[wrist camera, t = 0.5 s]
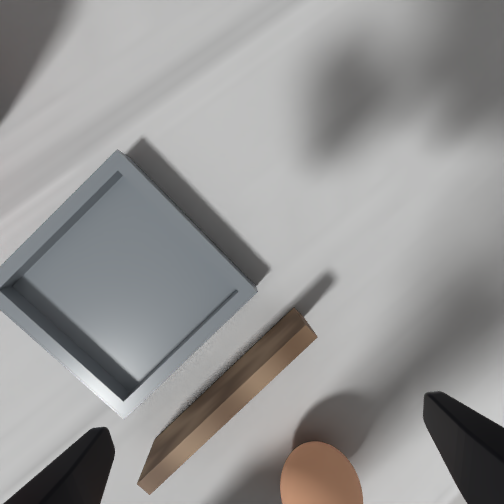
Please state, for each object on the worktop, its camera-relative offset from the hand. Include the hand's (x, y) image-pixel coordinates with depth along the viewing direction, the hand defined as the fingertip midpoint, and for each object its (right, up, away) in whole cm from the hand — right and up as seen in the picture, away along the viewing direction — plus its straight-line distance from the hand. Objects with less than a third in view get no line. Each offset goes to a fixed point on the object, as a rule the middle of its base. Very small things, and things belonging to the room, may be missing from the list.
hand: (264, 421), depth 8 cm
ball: (+5, -13, +13) cm, 19 cm away
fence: (-2, -6, +15) cm, 16 cm away
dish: (-10, +2, +14) cm, 17 cm away
